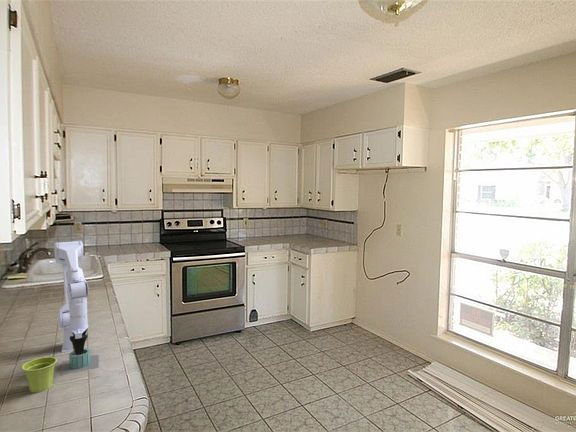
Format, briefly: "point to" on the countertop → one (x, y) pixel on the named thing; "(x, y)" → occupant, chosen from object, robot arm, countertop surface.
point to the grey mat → (68, 370)
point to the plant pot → (40, 373)
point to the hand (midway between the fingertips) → (79, 350)
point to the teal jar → (80, 359)
